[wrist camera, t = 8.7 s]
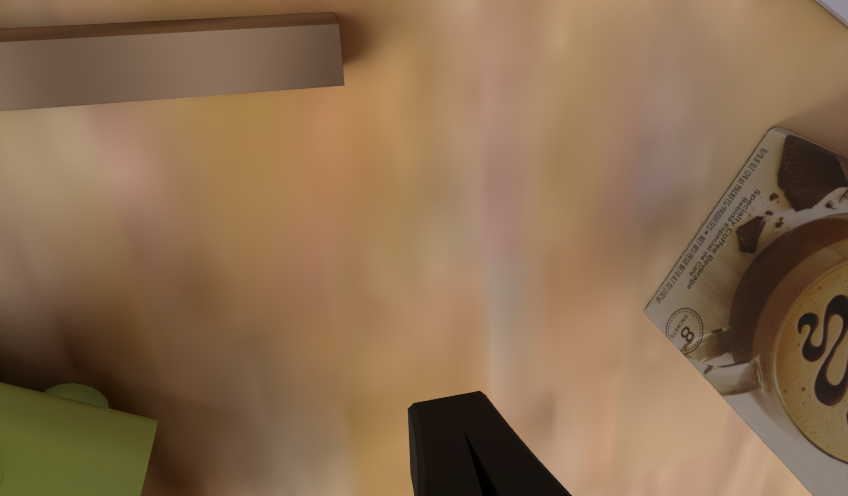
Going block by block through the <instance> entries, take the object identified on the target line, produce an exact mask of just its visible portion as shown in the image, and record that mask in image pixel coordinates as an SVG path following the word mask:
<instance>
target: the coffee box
mask: <svg viewBox="0 0 848 496" xmlns="http://www.w3.org/2000/svg"><path fill="white" fill-rule="evenodd" d="M645 314H646V315H647V316H648V317H649V318H650V320H651V321H652V322H653V323H654V324H655V325H656V326H657V327H658V328H659V329H660V330H661V331H662V332H663V333H664V334H665V335H666V337H667V338H668V339H669V340H670V341H671V342H672V343H673V344H674V345H675V346H676V347H677V348H678V349H679V350H680V351H681V352H682V353H683V354H684V356H685V357H686V358H687V359H688V360H689V361H690V362H691V364H692V365H693V366H694V367H695V368H696V369H697V370H698V371H699V372H700V373H701V374H702V375H703V377H704V378H705V379H706V380H707V381H708V382H709V383H710V384H711V385H712V386H713V387H714V388H715V389H716V390H717V392H718V393H719V394H720V395H721V396H722V397H723V398H724V399H725V400H726V402H727V403H728V404H729V405H730V406H731V407H732V408H733V409H734V410H735V411H736V413H737V414H738V415H739V416H740V417H741V418H742V419H743V420H744V421H745V422H746V424H747V425H748V426H749V427H750V428H751V429H752V430H753V431H754V432H755V433H756V434H757V435H758V437H759V438H760V439H761V440H762V441H763V442H764V443H765V444H766V445H767V446H768V447H769V448H770V450H771V451H772V452H773V453H774V454H775V455H776V456H777V457H778V458H779V459H780V460H781V461H782V462H783V464H784V465H785V466H786V467H787V468H788V469H789V470H790V471H791V472H792V473H793V474H794V476H795V477H796V478H797V479H798V480H799V481H800V482H801V483H802V484H803V485H804V487H805V488H806V489H807V490H808V491H809V492H810V493H811V494H812V495H813V496H848V157H847V156H845V155H843V154H841V153H838V152H836V151H834V150H831V149H829V148H827V147H824V146H822V145H820V144H818V143H815V142H813V141H811V140H809V139H807V138H804V137H802V136H800V135H798V134H795V133H793V132H790V131H788V130H785V129H783V128H780V127H774V128H772V129H771V130H769V131H768V132H767V134H766V135H765V137H764V138H763V140H762V141H761V143H760V144H759V146H758V147H757V149H756V150H755V151H754V153H753V154H752V156H751V157H750V159H749V160H748V162H747V163H746V165H745V166H744V168H743V169H742V170H741V172H740V173H739V175H738V176H737V178H736V179H735V181H734V182H733V184H732V185H731V186H730V188H729V189H728V191H727V192H726V194H725V195H724V197H723V198H722V199H721V201H720V202H719V204H718V205H717V207H716V208H715V209H714V211H713V212H712V214H711V215H710V217H709V218H708V220H707V221H706V223H705V224H704V225H703V227H702V228H701V230H700V231H699V233H698V234H697V236H696V237H695V238H694V240H693V241H692V243H691V244H690V246H689V247H688V249H687V250H686V251H685V253H684V254H683V256H682V257H681V259H680V260H679V262H678V263H677V264H676V266H675V267H674V269H673V270H672V272H671V273H670V274H669V276H668V277H667V279H666V280H665V282H664V283H663V284H662V286H661V287H660V289H659V290H658V292H657V293H656V294H655V296H654V297H653V299H652V300H651V302H650V303H649V305H648V306H647V307H646V309H645Z"/></svg>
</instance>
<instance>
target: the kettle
mask: <svg viewBox="0 0 848 496" xmlns="http://www.w3.org/2000/svg"><path fill="white" fill-rule="evenodd" d="M157 425H158V420H155V419H151V418H147V417H143V416H138V415H134V414H130V413H126V412H122V411H118V410H114V409H110V408H109V405H108V401H107V400H106V398H105V397H104V395H103V394H102V393H100V392H99V391H98V390H96V389H94V388H92V387H89V386H86V385H82V384H75V383H67V384H60V385H56V386H53V387H51V388H49V389H47V390H46V391H45V392H44V393H43V392H39V391H35V390H31V389H27V388H23V387H18V386H14V385H10V384H6V383H2V382H0V496H141V492H142V488H143V484H144V479H145V475H146V471H147V467H148V463H149V458H150V454H151V450H152V446H153V442H154V437H155V433H156V429H157Z"/></svg>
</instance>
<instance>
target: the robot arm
mask: <svg viewBox="0 0 848 496" xmlns="http://www.w3.org/2000/svg"><path fill="white" fill-rule="evenodd" d="M815 1H816V2H818V3H819V4H820V5H821V6H823V7H824V8H825V9H826V10H828V11H829V12H830V13H831V14H832V15H834V16H835V17H836V18H837V19H839V20H840V21H841V22H842V23H844V24H845V25H846V26H847V27H848V0H815ZM408 424H409V446H410V469H411V479H412V484H413V490H414V496H572V495H571V494H570V493H569V492H568V491H567V490H566V489H565V488H564V487H563V486H562V485H561V483H560V482H559V481H558V480H557V479H556V478H555V477H554V476H553V475H552V474H551V473H550V472H549V471H548V469H547V468H546V467H545V466H544V465H543V464H542V463H541V462H540V461H539V460H538V458H537V457H536V456H535V455H534V454H533V453H532V452H531V450H530V449H529V448H528V447H527V446H526V445H525V443H524V442H523V441H522V440H521V439H520V438H519V436H518V435H517V434H516V433H515V432H514V430H513V429H512V428H511V427H510V426H509V424H508V423H507V422H506V421H505V419H504V418H503V417H502V416H501V414H500V413H499V412H498V411H497V409H496V408H495V407H494V406H493V404H492V403H491V402H490V400H489V399H488V398H487V396H486V395H485V394H484V393H482V392H481V391H476V392H471V393H466V394H460V395H455V396H449V397H444V398H439V399H433V400H428V401H422V402H417V403H414V404H412V405H411V406H410V407H409V408H408Z"/></svg>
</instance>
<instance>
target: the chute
mask: <svg viewBox="0 0 848 496" xmlns="http://www.w3.org/2000/svg"><path fill="white" fill-rule="evenodd" d="M331 86H344V75H343V64H342V53H341V42H340V31H339V23H338V22H337V20H336V18H335V17H334V15H333V13H332V12H329V13H309V14H289V15H269V16H250V17H230V18H210V19H190V20H170V21H151V22H131V23H111V24H91V25H71V26H52V27H32V28H12V29H0V111H11V110H24V109H38V108H51V107H64V106H78V105H91V104H104V103H118V102H131V101H144V100H158V99H171V98H184V97H197V96H211V95H224V94H237V93H251V92H264V91H277V90H291V89H304V88H317V87H331Z"/></svg>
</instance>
